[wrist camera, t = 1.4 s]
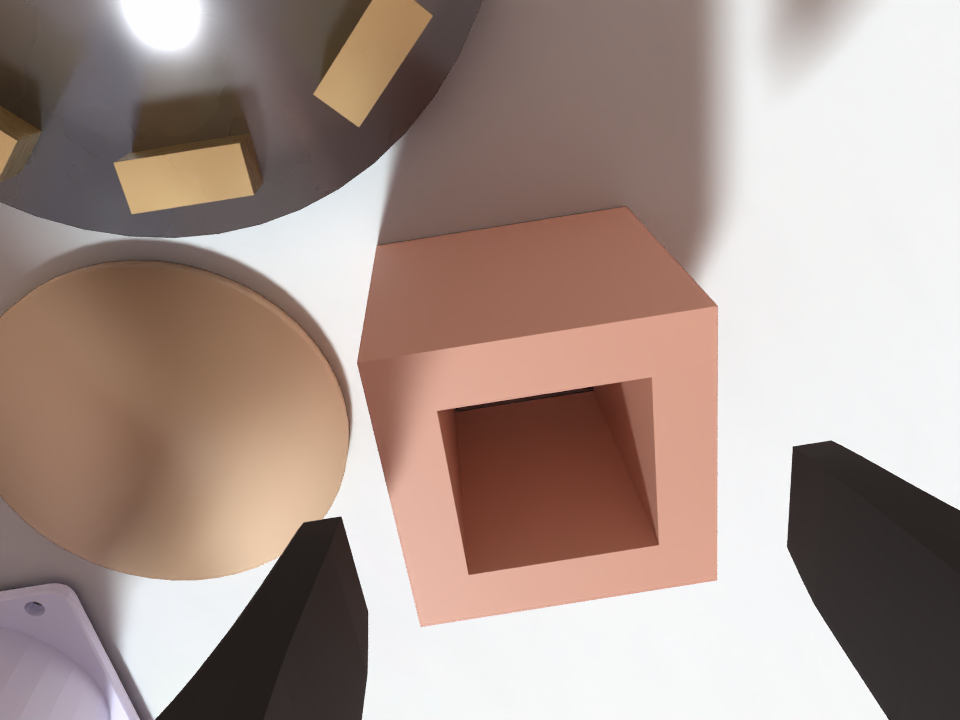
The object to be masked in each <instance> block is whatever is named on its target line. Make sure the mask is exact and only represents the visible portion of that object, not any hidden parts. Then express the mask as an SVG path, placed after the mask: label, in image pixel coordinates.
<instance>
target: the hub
mask: <svg viewBox="0 0 960 720" xmlns="http://www.w3.org/2000/svg"><path fill="white" fill-rule="evenodd" d="M481 1H482V0H0V202H1V203H4V204H6V205H9V206H11V207H14V208H16V209H19V210H22V211H24V212H27V213H29V214H32V215H34V216H37V217H40V218H44V219H48V220H51V221H55V222H59V223H63V224H66V225H70V226H74V227H77V228H81V229H85V230H92V231H98V232H105V233H111V234H118V235H124V236H134V237H165V238H179V237H190V236H200V235H211V234H220V233H225V232H229V231H233V230H238V229H242V228H247V227H251V226H256V225H260V224H263V223H266V222H268V221H271V220H274V219H277V218H279V217H282V216H285V215H287V214H290V213H293V212H295V211H298V210H301V209H303V208H304V207H306V206H308V205H310V204H312V203H314V202H316V201H318V200H319V199H321V198H323V197H325V196H327V195H329V194H331V193H332V192H334V191H336V190H338V189H340V188H341V187H342V186H344V185H345V184H346V183H348V182H349V181H350V180H352V179H353V178H355V177H356V176H357V175H359V174H360V173H361V172H363V171H364V170H366V169H367V168H368V167H370V166H371V165H372V164H374V163H375V162H376V161H377V160H378V159H379V158H380V157H381V156H382V155H383V154H384V153H385V152H386V151H387V150H388V149H389V148H390V147H391V146H392V145H393V144H394V143H395V142H397V141H398V140H399V139H400V138H401V137H402V136H403V135H404V134H405V133H406V132H407V130H408V129H409V128H410V127H411V125H412V124H413V123H414V121H415V120H416V119H417V118H418V116H419V115H420V114H421V113H422V111H423V110H424V109H425V108H426V106H427V105H428V104H429V102H430V101H431V100H432V99H433V97H434V96H435V94H436V93H437V91H438V89H439V88H440V86H441V84H442V83H443V81H444V79H445V78H446V76H447V74H448V73H449V71H450V69H451V67H452V66H453V64H454V62H455V61H456V59H457V57H458V56H459V54H460V51H461V49H462V47H463V45H464V42H465V40H466V38H467V35H468V33H469V31H470V28H471V26H472V24H473V22H474V19H475V17H476V15H477V12H478V10H479V8H480V4H481Z"/></svg>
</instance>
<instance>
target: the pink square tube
mask: <svg viewBox="0 0 960 720" xmlns="http://www.w3.org/2000/svg"><path fill="white" fill-rule="evenodd" d="M357 364H358V368H359V373H360V377H361V381H362V385H363V389H364V393H365V398H366V402H367V406H368V410H369V414H370V418H371V423H372V427H373V431H374V435H375V439H376V443H377V447H378V452H379V456H380V460H381V464H382V468H383V472H384V477H385V481H386V485H387V489H388V493H389V497H390V502H391V506H392V510H393V514H394V518H395V522H396V526H397V531H398V535H399V539H400V543H401V547H402V551H403V556H404V560H405V564H406V568H407V572H408V576H409V580H410V585H411V589H412V593H413V597H414V601H415V605H416V610H417V614H418V618H419V622H420V626H421V627H423V626H430V625H436V624H442V623H449V622H455V621H461V620H468V619H474V618H480V617H487V616H493V615H499V614H506V613H512V612H518V611H525V610H531V609H537V608H544V607H550V606H557V605H563V604H569V603H576V602H582V601H588V600H595V599H601V598H607V597H614V596H620V595H626V594H633V593H639V592H645V591H652V590H658V589H664V588H671V587H677V586H684V585H690V584H696V583H703V582H709V581H715V580H717V396H718V306H717V305H716V304H715V302H714V301H713V300H712V299H711V298H710V297H709V296H708V295H707V294H706V293H705V292H704V290H703V289H702V288H701V287H700V286H699V285H698V284H697V283H696V282H695V281H694V280H693V279H692V277H691V276H690V275H689V274H688V273H687V272H686V271H685V270H684V269H683V268H682V267H681V265H680V264H679V263H678V262H677V261H676V260H675V259H674V258H673V257H672V256H671V255H670V254H669V252H668V251H667V250H666V249H665V248H664V247H663V246H662V245H661V244H660V243H659V242H658V240H657V239H656V238H655V237H654V236H653V235H652V234H651V233H650V232H649V231H648V230H647V229H646V227H645V226H644V225H643V224H642V223H641V222H640V221H639V220H638V219H637V218H636V217H635V215H634V214H633V213H632V212H631V211H630V210H629V209H628V208H627V207H620V208H613V209H607V210H600V211H594V212H588V213H581V214H575V215H569V216H562V217H556V218H550V219H543V220H537V221H531V222H524V223H518V224H512V225H505V226H499V227H492V228H486V229H480V230H473V231H467V232H461V233H454V234H448V235H442V236H435V237H429V238H423V239H416V240H410V241H403V242H397V243H391V244H384V245H378V246H377V247H376V253H375V259H374V265H373V271H372V277H371V283H370V289H369V295H368V301H367V307H366V313H365V319H364V325H363V331H362V337H361V343H360V349H359V355H358V360H357ZM592 386H593V391H589V392H582V393H576V394H569V395H563V396H557V397H550V398H544V399H538V400H531V401H525V402H519V403H512V404H506V405H500V406H493V407H487V408H481V409H474V410H468V411H461V412H455V408H459V407H465V406H472V405H478V404H484V403H491V402H497V401H503V400H510V399H516V398H522V397H529V396H535V395H541V394H548V393H554V392H561V391H567V390H573V389H580V388H586V387H592Z"/></svg>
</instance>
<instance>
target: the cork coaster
mask: <svg viewBox="0 0 960 720" xmlns="http://www.w3.org/2000/svg"><path fill="white" fill-rule="evenodd" d="M348 445H349V422H348V416H347V411H346V405H345V401H344V398H343V395H342V392H341V389H340V386H339V383H338V381H337V379H336V377H335V375H334V373H333V371H332V369H331V367H330V365H329V363H328V361H327V360H326V358H325V357H324V355H323V354H322V352H321V351H320V349H319V348H318V347H317V345H316V344H315V342H314V341H313V340H312V339H311V338H310V337H309V336H308V335H307V333H306V332H305V331H304V330H303V329H302V328H301V327H300V326H299V325H298V324H297V323H296V322H295V321H294V320H293V319H291V318H290V317H289V316H288V315H287V314H286V313H285V312H284V311H282V310H281V309H280V308H278V307H277V306H276V305H274V304H273V303H271V302H270V301H268V300H267V299H265V298H264V297H263V296H261V295H260V294H258V293H256V292H254V291H252V290H250V289H248V288H247V287H245V286H243V285H241V284H239V283H237V282H235V281H232V280H230V279H227V278H225V277H222V276H220V275H217V274H215V273H212V272H209V271H205V270H202V269H198V268H194V267H191V266H187V265H182V264H175V263H168V262H162V261H144V260H127V261H116V262H105V263H100V264H96V265H92V266H87V267H83V268H79V269H76V270H73V271H71V272H68V273H65V274H63V275H60V276H57V277H55V278H53V279H52V280H50V281H48V282H46V283H44V284H43V285H41V286H39V287H37V288H35V289H34V290H33V291H31V292H30V293H29V294H28V295H26V296H25V297H24V298H22V299H21V300H20V301H19V302H17V303H16V304H15V305H13V306H12V307H11V308H10V309H8V310H7V311H6V312H5V313H4V314H3V315H2V316H1V318H0V495H1V497H2V498H3V499H4V500H5V502H6V503H7V504H8V505H9V506H10V507H11V508H12V509H13V510H14V511H15V512H16V513H17V514H18V515H19V516H20V517H21V518H22V519H23V520H24V521H25V522H26V523H27V524H29V525H30V526H31V527H32V528H34V529H35V530H36V531H38V532H39V533H40V534H41V535H43V536H44V537H46V538H47V539H49V540H50V541H52V542H53V543H55V544H57V545H58V546H60V547H61V548H63V549H65V550H67V551H69V552H71V553H73V554H75V555H77V556H79V557H81V558H83V559H85V560H87V561H90V562H92V563H95V564H97V565H100V566H103V567H105V568H108V569H112V570H115V571H119V572H122V573H126V574H130V575H136V576H141V577H146V578H153V579H164V580H202V579H211V578H219V577H223V576H228V575H233V574H238V573H241V572H244V571H247V570H250V569H253V568H256V567H259V566H261V565H263V564H265V563H267V562H269V561H272V560H274V559H276V558H277V557H279V556H281V554H282V553H283V551H284V550H285V548H286V547H287V545H288V544H289V542H290V541H291V539H292V538H293V536H294V535H295V533H296V532H297V530H298V529H299V527H300V526H301V525H302V524H303V522H309V521H316V520H322V519H323V518H324V516H325V515H326V513H327V512H328V510H329V509H330V507H331V506H332V504H333V502H334V500H335V497H336V495H337V493H338V491H339V489H340V486H341V482H342V479H343V476H344V472H345V467H346V460H347V453H348Z"/></svg>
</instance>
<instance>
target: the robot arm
mask: <svg viewBox="0 0 960 720" xmlns="http://www.w3.org/2000/svg"><path fill="white" fill-rule="evenodd" d="M787 548H788V550H789V552H790V555H791V557H792V559H793V561H794V563H795V565H796V568H797V570H798V572H799V574H800V576H801V578H802V581H803V583H804V585H805V587H806V589H807V591H808V593H809V595H810V597H811V599H812V601H813V603H814V605H815V606H816V608H817V609H818V611H819V613H820V614H821V616H822V617H823V619H824V621H825V622H826V624H827V625H828V627H829V628H830V630H831V631H832V633H833V635H834V636H835V638H836V639H837V641H838V642H839V644H840V646H841V647H842V649H843V650H844V652H845V653H846V655H847V656H848V658H849V659H850V661H851V662H852V664H853V665H854V667H855V669H856V670H857V672H858V673H859V675H860V676H861V678H862V679H863V681H864V682H865V684H866V685H867V687H868V688H869V690H870V692H871V693H872V695H873V696H874V698H875V699H876V701H877V702H878V704H879V705H880V707H881V708H882V710H883V711H884V713H885V715H886V716H887V718H888V719H889V720H960V510H958V509H956V508H954V507H952V506H950V505H948V504H947V503H945V502H943V501H941V500H939V499H937V498H935V497H934V496H932V495H930V494H928V493H926V492H924V491H923V490H921V489H919V488H917V487H915V486H914V485H912V484H910V483H908V482H906V481H905V480H903V479H901V478H899V477H898V476H896V475H894V474H892V473H890V472H889V471H887V470H885V469H883V468H882V467H880V466H878V465H876V464H874V463H873V462H871V461H869V460H867V459H865V458H864V457H862V456H860V455H858V454H856V453H855V452H853V451H851V450H849V449H847V448H845V447H843V446H841V445H839V444H837V443H835V442H833V441H826V442H819V443H813V444H806V445H800V446H793V454H792V471H791V489H790V506H789V523H788V540H787ZM34 602H37V603H40V604H42V605H38V604H35V603H34ZM367 672H368V610H367V606H366V603H365V599H364V595H363V592H362V588H361V585H360V581H359V578H358V574H357V571H356V567H355V563H354V560H353V556H352V553H351V549H350V546H349V542H348V539H347V535H346V531H345V528H344V524H343V521H342V517H335V518H329V519H322V520H316V521H309V522H303V524H302V525H301V526H300V527H299V529H298V530H297V532H296V533H295V535H294V536H293V538H292V539H291V541H290V542H289V544H288V545H287V547H286V548H285V550H284V551H283V553H282V554H281V556H280V558H279V559H278V561H277V562H276V564H275V565H274V567H273V568H272V570H271V571H270V573H269V574H268V576H267V577H266V579H265V580H264V582H263V583H262V585H261V586H260V588H259V589H258V590H257V592H256V593H255V595H254V596H253V598H252V599H251V600H250V602H249V603H248V605H247V606H246V607H245V609H244V610H243V612H242V613H241V615H240V616H239V617H238V619H237V620H236V622H235V623H234V624H233V626H232V627H231V629H230V630H229V631H228V633H227V634H226V635H225V636H224V638H223V639H222V640H221V642H220V643H219V644H218V645H217V647H216V648H215V649H214V651H213V652H212V653H211V654H210V656H209V657H208V658H207V660H206V661H205V662H204V663H203V665H202V666H201V667H200V669H199V670H198V671H197V672H196V674H195V675H194V676H193V677H192V678H191V680H190V681H189V682H188V683H187V684H186V686H185V687H184V688H183V689H182V690H181V692H180V693H179V694H178V695H177V696H176V697H175V698H174V700H173V701H172V702H171V703H170V704H169V705H168V706H167V707H166V708H165V710H164V711H163V712H162V713H161V714H160V715H159V716H158V717H157V718H156V719H155V720H362V713H363V705H364V697H365V689H366V681H367ZM0 720H140V718H139V717H138V715H137V713H136V711H135V709H134V707H133V705H132V703H131V701H130V699H129V697H128V695H127V693H126V691H125V689H124V687H123V685H122V683H121V681H120V679H119V677H118V675H117V673H116V671H115V669H114V667H113V666H112V664H111V662H110V660H109V658H108V656H107V654H106V652H105V650H104V648H103V646H102V644H101V642H100V640H99V638H98V636H97V634H96V632H95V630H94V628H93V626H92V624H91V622H90V620H89V618H88V616H87V614H86V613H85V611H84V609H83V607H82V605H81V603H80V601H79V599H78V597H77V595H76V593H75V592H74V591H73V590H72V589H71V588H70V587H68V586H66V585H63V584H60V583H50V584H44V585H37V586H31V587H25V588H18V589H12V590H6V591H0Z"/></svg>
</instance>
